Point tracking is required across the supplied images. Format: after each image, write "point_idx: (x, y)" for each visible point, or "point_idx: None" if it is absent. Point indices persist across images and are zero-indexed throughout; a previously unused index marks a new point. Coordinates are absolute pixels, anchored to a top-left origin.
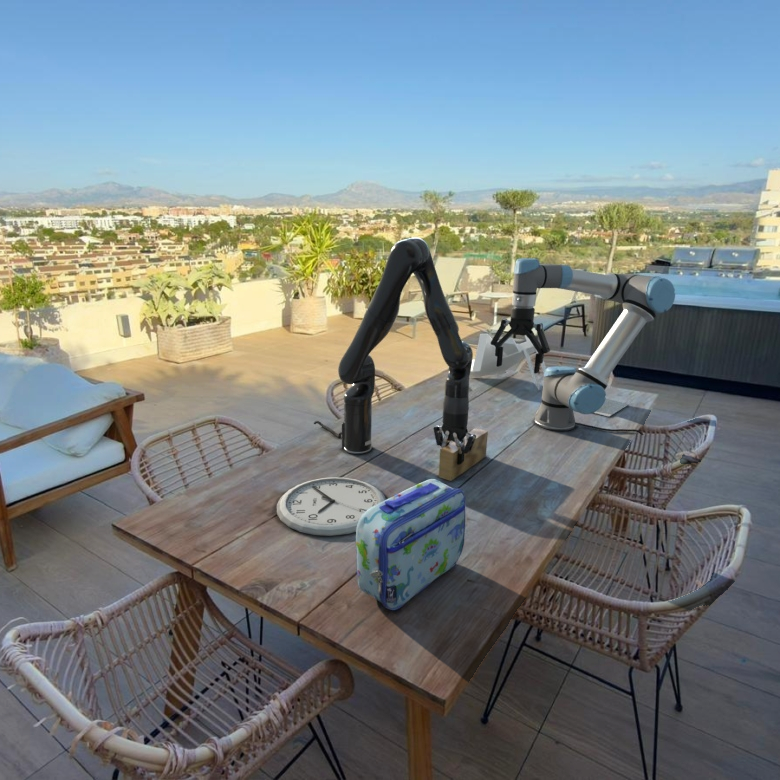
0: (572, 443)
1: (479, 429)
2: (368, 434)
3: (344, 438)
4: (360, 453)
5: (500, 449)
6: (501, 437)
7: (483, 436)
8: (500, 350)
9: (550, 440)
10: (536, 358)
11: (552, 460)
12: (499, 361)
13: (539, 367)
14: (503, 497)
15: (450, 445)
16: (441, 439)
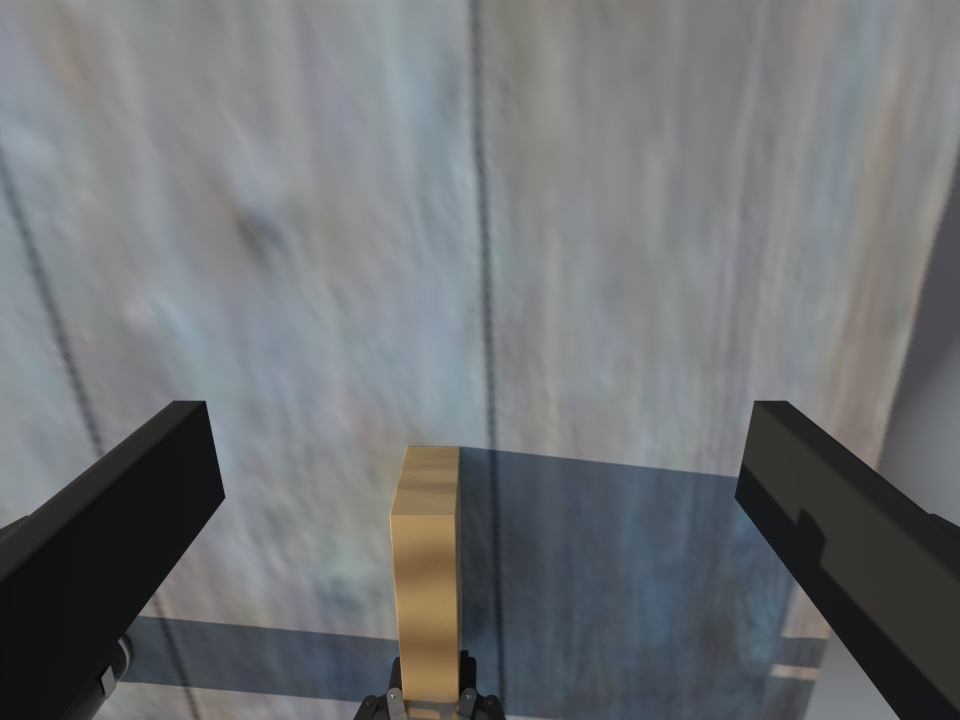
0: (757, 33)
1: (413, 521)
2: (85, 710)
3: None
4: (126, 671)
5: (474, 350)
6: (411, 213)
7: (456, 543)
8: (46, 686)
9: (639, 74)
10: (897, 685)
11: (705, 317)
12: (183, 522)
13: (826, 439)
14: (633, 643)
15: (414, 705)
16: (368, 715)
